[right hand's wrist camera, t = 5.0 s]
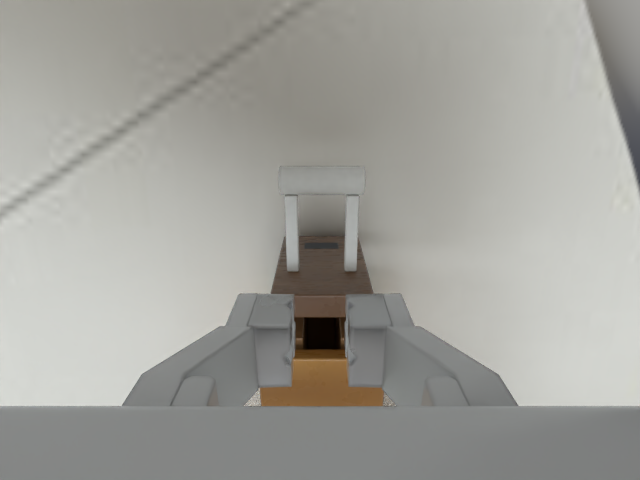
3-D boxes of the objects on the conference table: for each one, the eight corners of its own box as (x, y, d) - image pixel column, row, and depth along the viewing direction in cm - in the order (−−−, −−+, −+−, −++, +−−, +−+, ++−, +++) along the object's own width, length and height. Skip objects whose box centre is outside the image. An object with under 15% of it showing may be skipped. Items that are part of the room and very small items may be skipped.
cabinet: (277, 269, 25) (256, 359, 17) (364, 269, 25) (387, 358, 17) (286, 453, 32) (274, 585, 23) (355, 453, 32) (368, 584, 23)
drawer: (280, 151, 21) (262, 178, 14) (361, 151, 21) (381, 178, 14) (291, 429, 29) (283, 531, 23) (350, 429, 29) (359, 530, 23)
